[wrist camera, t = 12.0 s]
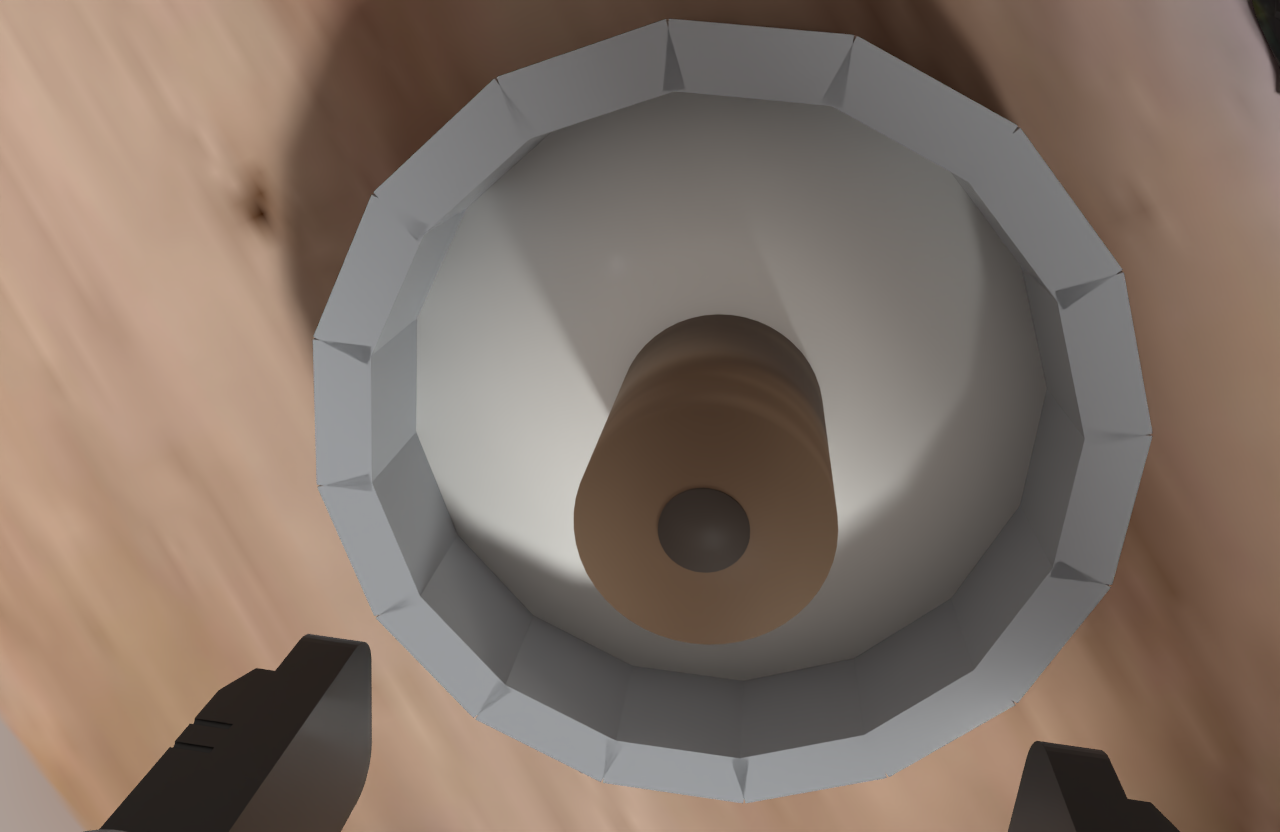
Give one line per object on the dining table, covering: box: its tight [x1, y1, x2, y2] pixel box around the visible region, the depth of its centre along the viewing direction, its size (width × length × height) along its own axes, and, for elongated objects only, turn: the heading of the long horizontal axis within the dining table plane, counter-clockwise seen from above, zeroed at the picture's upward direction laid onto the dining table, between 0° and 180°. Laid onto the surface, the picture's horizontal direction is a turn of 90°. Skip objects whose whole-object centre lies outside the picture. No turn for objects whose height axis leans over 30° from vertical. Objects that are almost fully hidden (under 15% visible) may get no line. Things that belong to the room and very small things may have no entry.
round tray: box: [313, 19, 1152, 803], centre depth 23 cm, size 16×16×4 cm
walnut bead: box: [574, 314, 838, 645], centre depth 21 cm, size 5×5×6 cm
